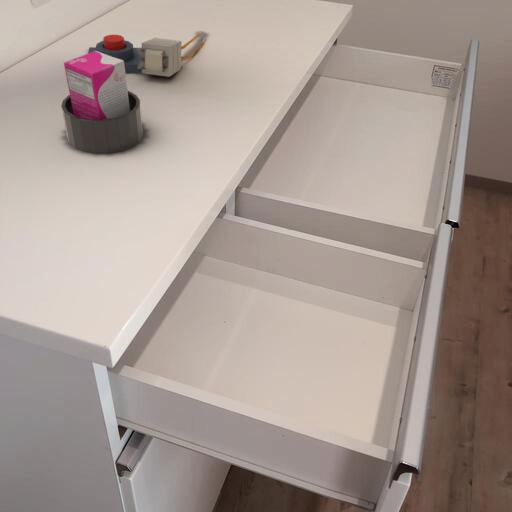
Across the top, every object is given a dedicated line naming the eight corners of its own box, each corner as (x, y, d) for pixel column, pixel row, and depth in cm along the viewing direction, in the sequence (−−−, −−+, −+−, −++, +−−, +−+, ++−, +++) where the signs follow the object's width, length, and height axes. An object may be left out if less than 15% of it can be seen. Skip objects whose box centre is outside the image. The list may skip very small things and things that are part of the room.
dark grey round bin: (64, 160, 75) (56, 121, 71) (73, 124, 83) (66, 86, 79) (142, 159, 77) (139, 120, 73) (143, 123, 85) (140, 86, 81)
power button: (103, 51, 97) (102, 41, 96) (105, 44, 100) (104, 34, 99) (124, 51, 98) (123, 41, 96) (125, 44, 100) (124, 34, 99)
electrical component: (179, 51, 115) (180, 26, 113) (207, 55, 115) (208, 30, 112) (137, 73, 95) (136, 43, 92) (170, 78, 94) (170, 48, 91)
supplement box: (106, 124, 83) (96, 48, 75) (134, 137, 80) (126, 60, 73) (76, 138, 79) (62, 60, 72) (104, 152, 77) (93, 73, 69)
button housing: (86, 73, 97) (83, 54, 95) (90, 56, 103) (88, 37, 101) (143, 73, 98) (142, 54, 96) (144, 56, 104) (143, 38, 102)
